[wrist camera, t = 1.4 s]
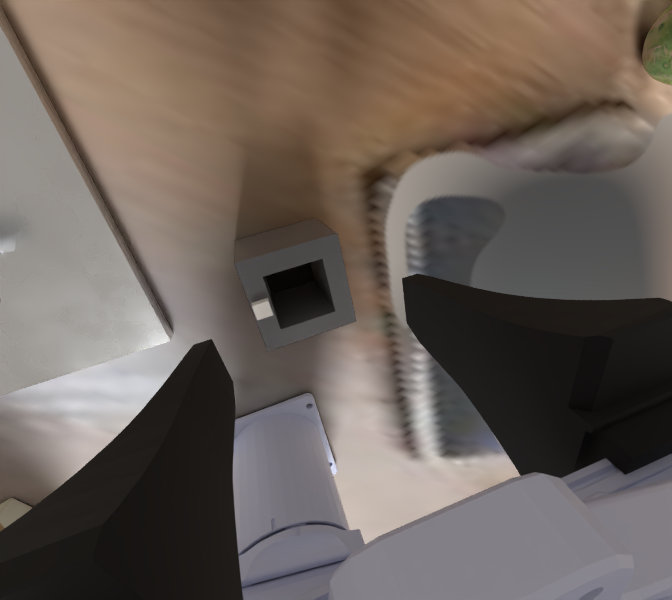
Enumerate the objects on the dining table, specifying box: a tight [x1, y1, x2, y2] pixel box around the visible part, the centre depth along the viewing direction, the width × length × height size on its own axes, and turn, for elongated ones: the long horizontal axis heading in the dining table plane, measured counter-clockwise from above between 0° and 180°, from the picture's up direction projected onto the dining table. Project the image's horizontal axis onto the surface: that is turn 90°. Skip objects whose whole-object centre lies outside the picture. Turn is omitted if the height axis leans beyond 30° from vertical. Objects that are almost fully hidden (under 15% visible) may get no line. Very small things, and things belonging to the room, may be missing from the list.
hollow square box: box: [234, 218, 356, 351], centre depth 18 cm, size 5×5×5 cm
